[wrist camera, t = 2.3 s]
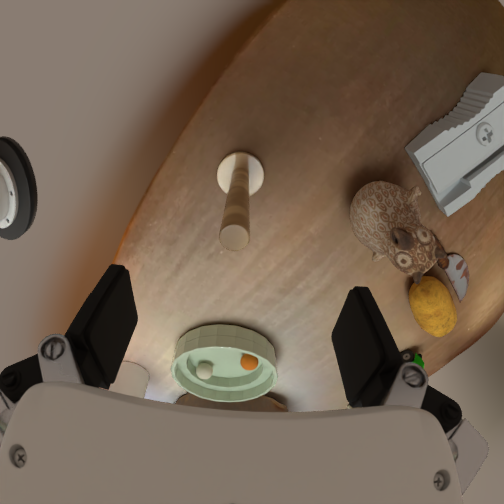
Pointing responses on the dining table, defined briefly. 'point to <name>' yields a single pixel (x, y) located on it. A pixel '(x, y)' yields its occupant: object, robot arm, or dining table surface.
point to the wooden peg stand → (238, 196)
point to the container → (234, 404)
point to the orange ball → (249, 362)
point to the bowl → (224, 363)
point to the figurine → (394, 227)
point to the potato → (432, 306)
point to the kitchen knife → (455, 271)
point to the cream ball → (204, 371)
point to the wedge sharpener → (463, 145)
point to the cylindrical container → (131, 380)
